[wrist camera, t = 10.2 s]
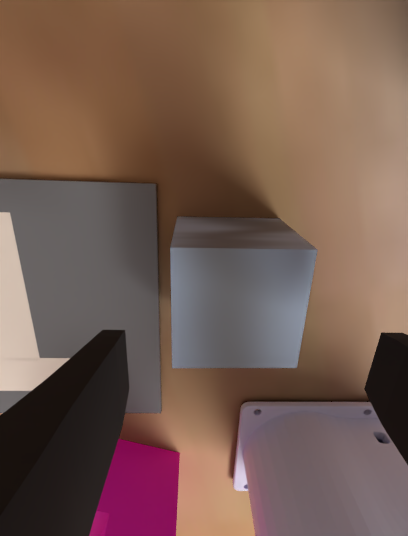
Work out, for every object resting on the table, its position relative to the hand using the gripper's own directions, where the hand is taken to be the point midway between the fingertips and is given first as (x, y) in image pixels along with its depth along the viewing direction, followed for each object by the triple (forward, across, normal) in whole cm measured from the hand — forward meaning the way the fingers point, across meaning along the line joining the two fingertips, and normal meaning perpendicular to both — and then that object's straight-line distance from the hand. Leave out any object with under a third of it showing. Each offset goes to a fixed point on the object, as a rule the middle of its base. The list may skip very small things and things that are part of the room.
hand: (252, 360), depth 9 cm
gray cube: (+8, 0, 0) cm, 8 cm away
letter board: (+8, +12, +3) cm, 14 cm away
